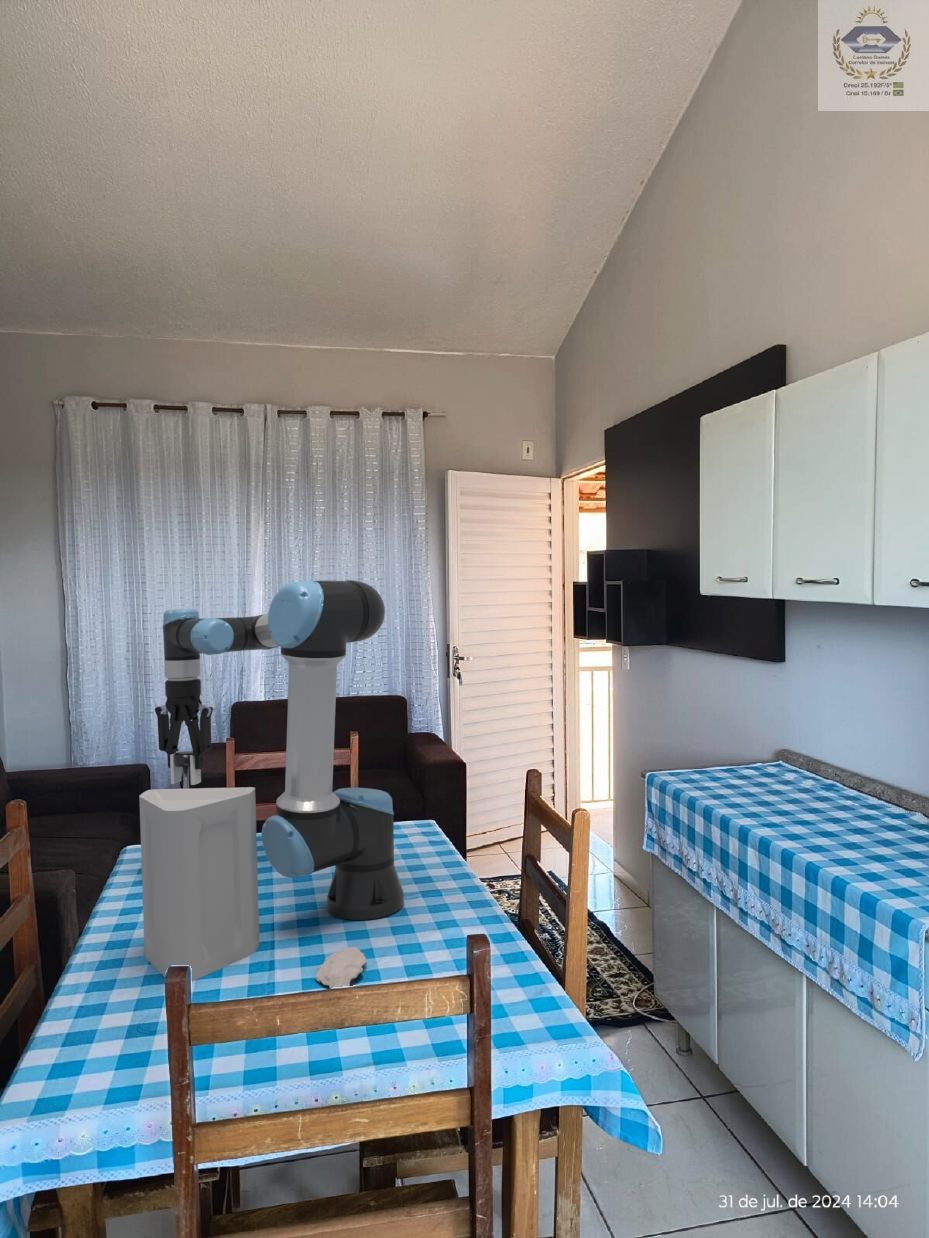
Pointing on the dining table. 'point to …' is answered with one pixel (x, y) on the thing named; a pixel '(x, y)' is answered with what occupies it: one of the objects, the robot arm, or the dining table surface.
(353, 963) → the stone tool
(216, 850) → the grey triangular prism
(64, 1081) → the dining table surface
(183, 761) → the plunger
